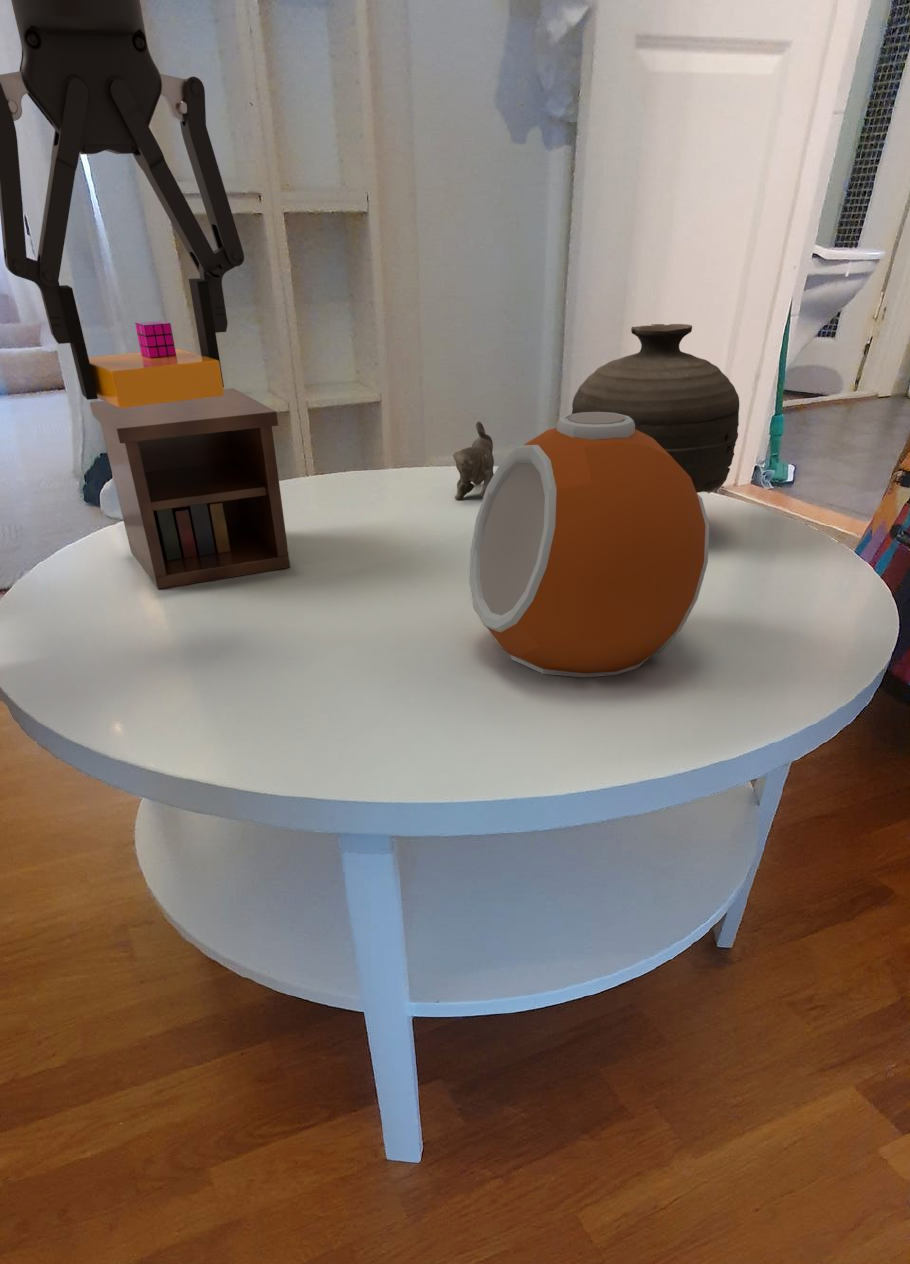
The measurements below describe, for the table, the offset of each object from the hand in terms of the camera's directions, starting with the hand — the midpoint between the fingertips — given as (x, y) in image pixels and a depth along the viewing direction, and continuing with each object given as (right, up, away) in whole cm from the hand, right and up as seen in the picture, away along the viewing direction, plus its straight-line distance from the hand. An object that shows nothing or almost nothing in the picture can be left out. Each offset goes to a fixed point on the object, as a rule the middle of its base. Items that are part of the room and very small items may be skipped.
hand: (153, 390), depth 68 cm
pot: (+44, +6, +35) cm, 56 cm away
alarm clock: (+33, -16, +10) cm, 38 cm away
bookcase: (-4, +1, +30) cm, 31 cm away
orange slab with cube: (0, 0, 0) cm, 0 cm away
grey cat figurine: (+25, +17, +49) cm, 57 cm away
